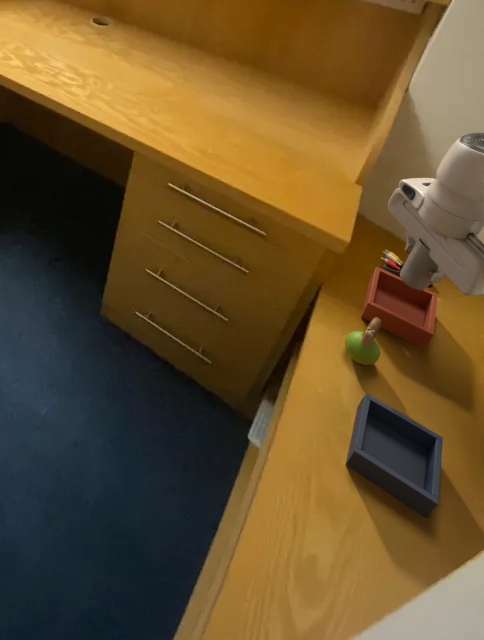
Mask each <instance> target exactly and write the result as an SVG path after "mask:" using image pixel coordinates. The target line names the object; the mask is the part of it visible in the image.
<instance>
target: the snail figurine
mask: <svg viewBox="0 0 484 640" xmlns="http://www.w3.org/2000/svg"><path fill="white" fill-rule="evenodd" d="M380 329H381V320H380V319H379V318H377V317H375V318H374V319H373V320H372V321H371V322H370V321H369V324H368V325H367V326H366V328H365V330H364V331H361V330H354V331H351V332H349V333H348V334H347V336H346V338H345V339H344V347H345V351H346V353H347V354H348V355H349V357H350V358H351V359H352V360H353V361H354V362H355V363H358V364H360V365H362V366H363V365H364V366H371V365H373V364H375V363H377V362H378V361H379V359H380V356H381V350H380V349H381V348H380V345H379V344H378V342H377V340H376V339H375V338H376V337H377V335H378V333H379V331H380Z"/></svg>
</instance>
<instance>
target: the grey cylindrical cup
mask: <svg viewBox="0 0 484 640" xmlns="http://www.w3.org/2000/svg"><path fill="white" fill-rule="evenodd" d="M429 252H430V249H429V248H428V247H426V246H425V245H424V244H423V242H422V241H421V239H420V238H419V239H418V241H417V242H416V244H415V246H414V247H413V249H412V251H411V253H410V255H409V254H408V257H407V259H406V260H405V262H404V263H403V264H404V266H403V268H402V270H401V272H400V274H399V277H401V279H402V280H403V282H404V283H405V284H407V285H408V286H410V287H412V288H414V289H417V290H425V289H428V287H430V286H429V284H430V282H431V280H430V279H429V278H428V276H427V274H428V272H429V270H438V265H437V264H436V263H435V262H434V261H433V260H432V259H431V258H430V256H429Z"/></svg>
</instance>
